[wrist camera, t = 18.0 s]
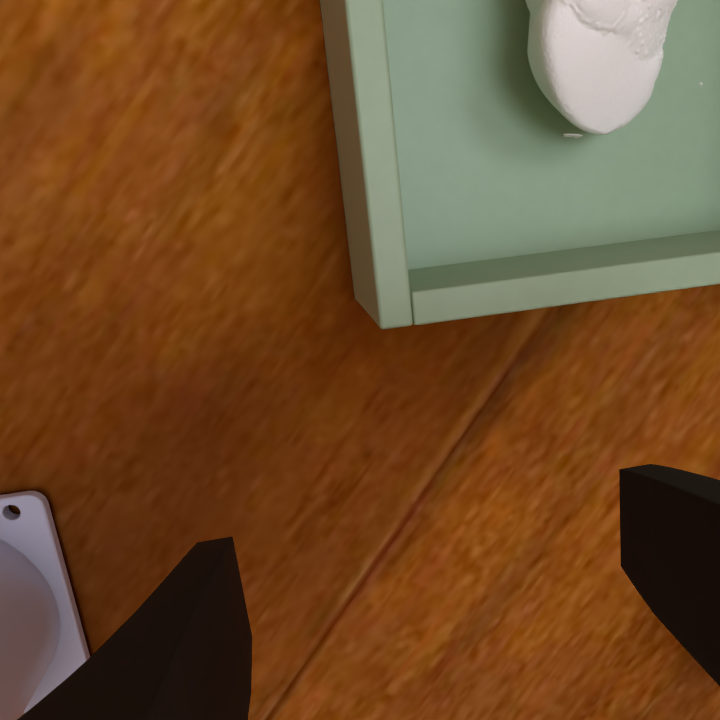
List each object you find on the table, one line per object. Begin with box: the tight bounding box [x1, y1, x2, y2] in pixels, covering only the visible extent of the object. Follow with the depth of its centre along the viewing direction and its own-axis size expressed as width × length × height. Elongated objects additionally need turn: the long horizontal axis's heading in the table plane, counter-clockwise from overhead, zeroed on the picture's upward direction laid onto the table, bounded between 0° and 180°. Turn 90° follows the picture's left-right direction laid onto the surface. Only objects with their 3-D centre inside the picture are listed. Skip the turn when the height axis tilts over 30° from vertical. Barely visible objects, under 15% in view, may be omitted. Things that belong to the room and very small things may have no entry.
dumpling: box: [525, 0, 702, 138], centre depth 15 cm, size 7×5×4 cm
